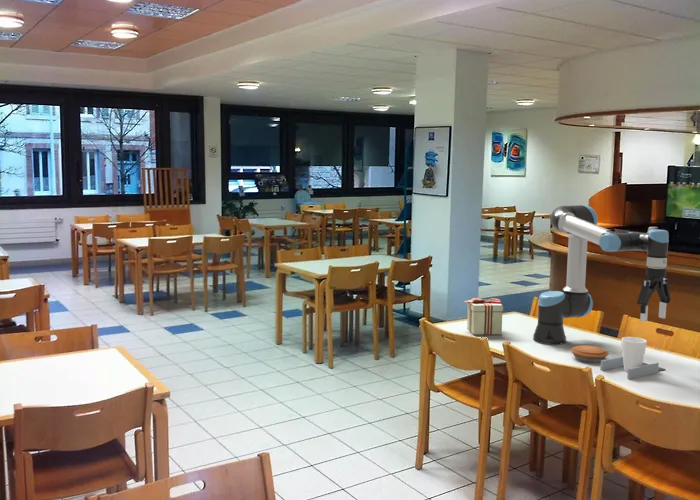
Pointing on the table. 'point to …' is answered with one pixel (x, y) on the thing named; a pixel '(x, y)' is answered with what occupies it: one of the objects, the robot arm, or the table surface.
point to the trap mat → (658, 367)
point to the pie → (589, 353)
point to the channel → (632, 372)
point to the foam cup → (633, 352)
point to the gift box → (484, 316)
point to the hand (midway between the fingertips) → (652, 319)
